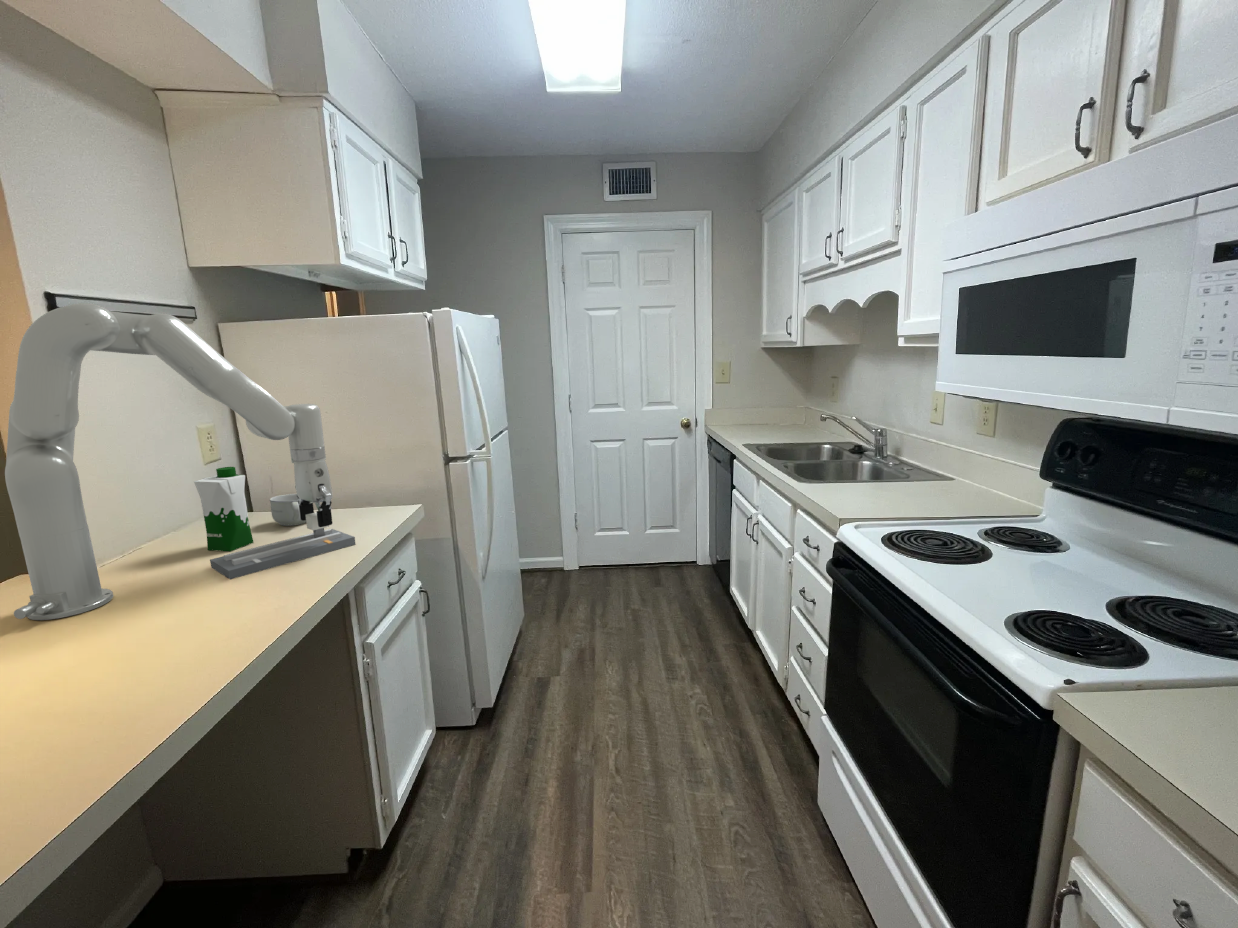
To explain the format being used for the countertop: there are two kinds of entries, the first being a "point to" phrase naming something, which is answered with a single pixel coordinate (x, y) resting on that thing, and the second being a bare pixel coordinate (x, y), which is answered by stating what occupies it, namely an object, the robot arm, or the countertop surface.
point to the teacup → (286, 510)
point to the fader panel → (279, 553)
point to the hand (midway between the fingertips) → (316, 522)
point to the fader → (314, 525)
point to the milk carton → (225, 510)
